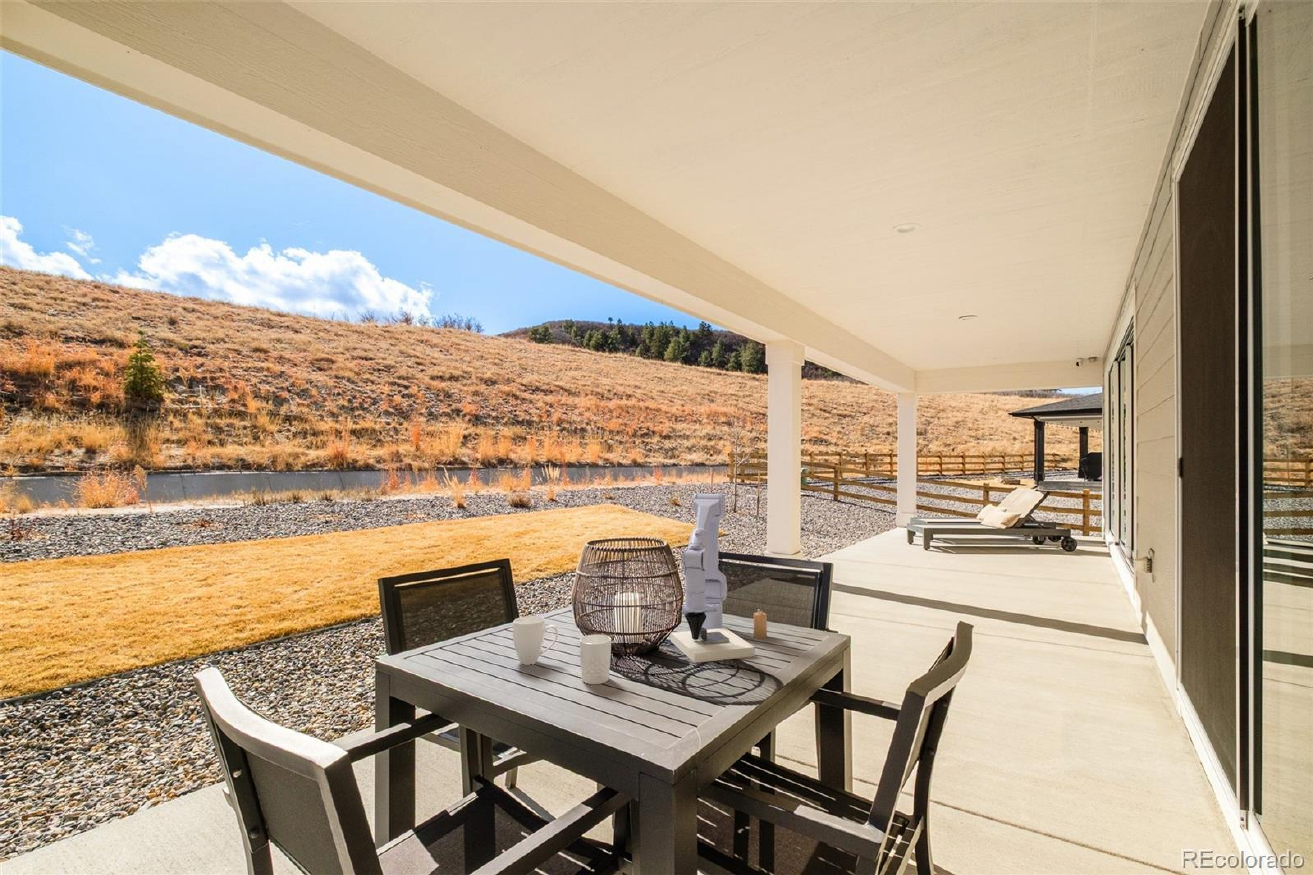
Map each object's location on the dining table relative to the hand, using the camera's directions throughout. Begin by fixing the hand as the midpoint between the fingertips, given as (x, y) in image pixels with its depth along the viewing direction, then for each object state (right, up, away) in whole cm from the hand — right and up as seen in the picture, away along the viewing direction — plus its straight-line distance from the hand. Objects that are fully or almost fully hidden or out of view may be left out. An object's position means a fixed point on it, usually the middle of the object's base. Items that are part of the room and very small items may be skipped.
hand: (695, 638), depth 171 cm
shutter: (+5, -1, +1) cm, 5 cm away
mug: (-44, -3, -11) cm, 45 cm away
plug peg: (+21, -4, +13) cm, 25 cm away
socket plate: (+5, -3, +1) cm, 6 cm away
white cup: (-26, -3, -23) cm, 35 cm away
